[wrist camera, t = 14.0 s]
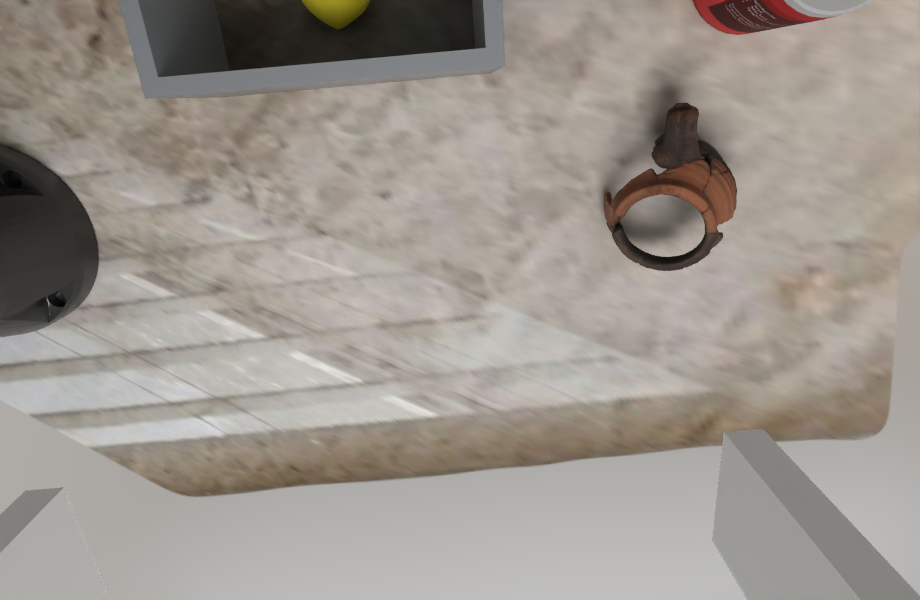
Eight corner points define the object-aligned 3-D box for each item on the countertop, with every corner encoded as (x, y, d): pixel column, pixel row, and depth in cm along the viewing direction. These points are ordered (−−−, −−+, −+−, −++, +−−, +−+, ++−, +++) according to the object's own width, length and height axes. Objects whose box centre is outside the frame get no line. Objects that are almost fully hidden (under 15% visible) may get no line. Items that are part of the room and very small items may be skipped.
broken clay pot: (734, 222, 45) (732, 282, 40) (617, 224, 49) (601, 279, 44) (742, 75, 38) (742, 122, 33) (606, 92, 42) (584, 136, 37)
